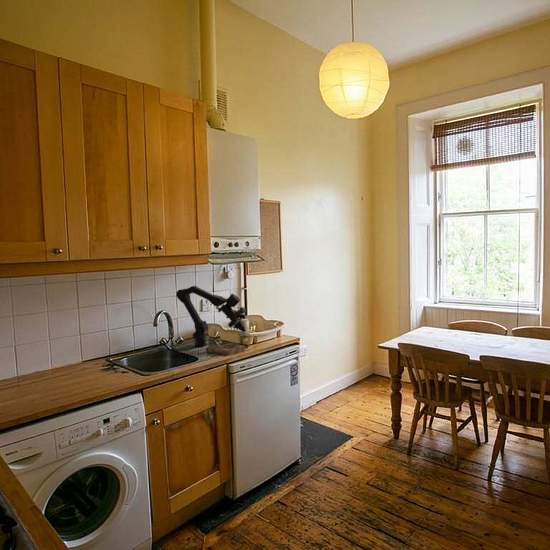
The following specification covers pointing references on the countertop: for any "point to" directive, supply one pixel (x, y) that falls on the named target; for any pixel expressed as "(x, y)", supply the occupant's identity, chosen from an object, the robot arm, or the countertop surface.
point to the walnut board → (229, 348)
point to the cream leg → (246, 325)
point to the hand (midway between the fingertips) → (246, 330)
